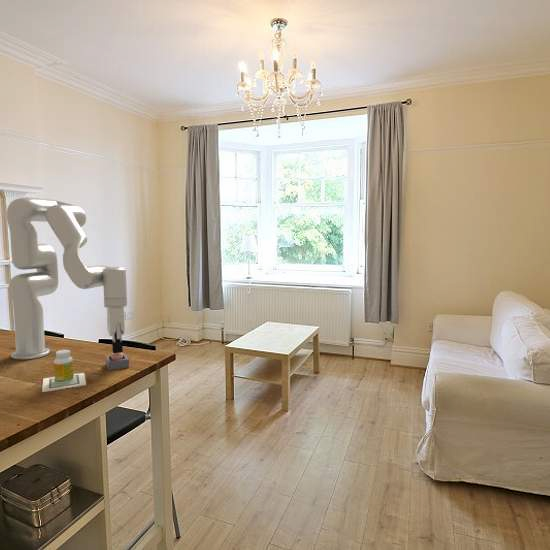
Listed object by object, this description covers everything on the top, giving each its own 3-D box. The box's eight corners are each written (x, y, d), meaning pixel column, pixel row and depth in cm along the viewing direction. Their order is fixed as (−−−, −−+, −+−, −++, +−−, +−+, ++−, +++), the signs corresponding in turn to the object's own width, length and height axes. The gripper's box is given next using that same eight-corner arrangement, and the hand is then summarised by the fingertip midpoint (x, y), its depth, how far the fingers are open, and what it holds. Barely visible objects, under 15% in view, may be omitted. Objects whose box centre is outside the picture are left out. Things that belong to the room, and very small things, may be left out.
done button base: (105, 364, 144) (105, 356, 144) (126, 361, 148) (126, 353, 147) (108, 370, 138) (107, 362, 138) (129, 367, 141) (128, 359, 141)
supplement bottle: (65, 384, 124) (64, 354, 123) (50, 383, 125) (49, 353, 124) (77, 378, 129) (76, 349, 128) (63, 377, 130) (61, 348, 129)
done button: (110, 359, 143) (110, 352, 143) (122, 358, 145) (122, 351, 145) (111, 362, 140) (111, 356, 140) (123, 361, 142) (123, 354, 142)
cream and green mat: (43, 379, 129) (43, 378, 129) (84, 373, 135) (84, 372, 135) (42, 392, 119) (42, 390, 119) (86, 385, 125) (86, 383, 125)
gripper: (102, 299, 145) (104, 348, 147) (106, 306, 132) (108, 360, 134) (123, 297, 148) (125, 345, 150) (130, 304, 135) (132, 356, 137)
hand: (117, 352), depth 142 cm, fingers closed
